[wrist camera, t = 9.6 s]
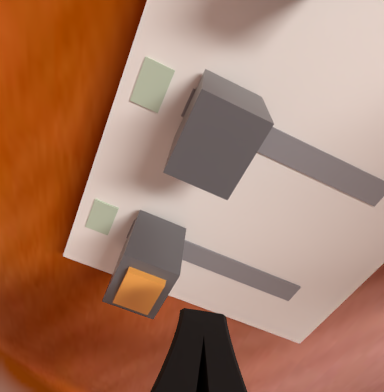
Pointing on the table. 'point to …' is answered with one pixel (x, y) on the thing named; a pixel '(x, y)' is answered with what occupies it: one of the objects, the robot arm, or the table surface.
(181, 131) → the middle breaker
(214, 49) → the breaker panel
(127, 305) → the block
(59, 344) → the table surface
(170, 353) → the robot arm
